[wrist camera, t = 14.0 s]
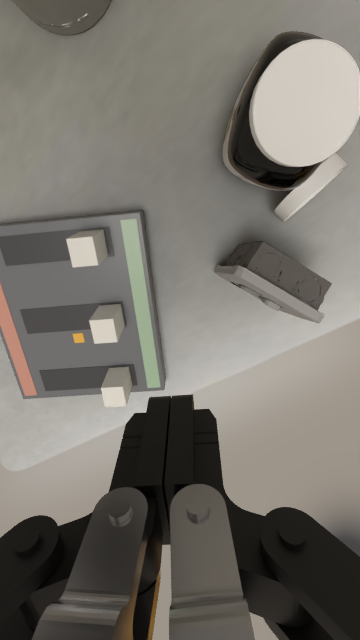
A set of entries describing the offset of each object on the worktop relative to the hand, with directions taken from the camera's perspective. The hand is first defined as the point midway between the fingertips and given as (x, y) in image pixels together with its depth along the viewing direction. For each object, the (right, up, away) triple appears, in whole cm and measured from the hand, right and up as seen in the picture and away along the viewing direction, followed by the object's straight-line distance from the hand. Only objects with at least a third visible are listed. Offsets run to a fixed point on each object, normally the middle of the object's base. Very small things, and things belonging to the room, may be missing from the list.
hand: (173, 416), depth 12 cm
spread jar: (+10, +20, +21) cm, 30 cm away
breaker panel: (-12, +5, +28) cm, 31 cm away
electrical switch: (+9, +9, +26) cm, 29 cm away
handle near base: (-8, +11, +22) cm, 26 cm away
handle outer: (-7, -3, +29) cm, 30 cm away
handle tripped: (-7, +4, +25) cm, 27 cm away
